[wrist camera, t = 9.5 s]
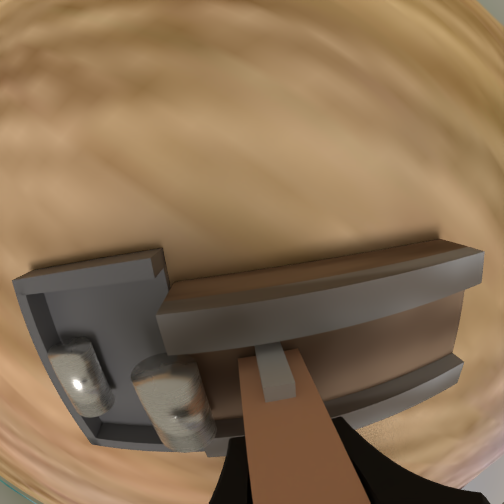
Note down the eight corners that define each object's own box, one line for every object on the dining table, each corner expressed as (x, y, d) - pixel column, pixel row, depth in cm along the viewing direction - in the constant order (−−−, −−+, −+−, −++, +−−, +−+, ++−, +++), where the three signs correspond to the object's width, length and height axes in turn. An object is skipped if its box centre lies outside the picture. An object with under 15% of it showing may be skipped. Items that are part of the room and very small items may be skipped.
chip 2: (229, 428, 12) (183, 462, 10) (191, 404, 14) (149, 430, 12) (211, 367, 11) (152, 402, 9) (171, 345, 13) (120, 370, 11)
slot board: (426, 355, 18) (457, 383, 14) (209, 410, 17) (207, 457, 12) (439, 238, 16) (484, 251, 12) (174, 281, 15) (155, 315, 10)
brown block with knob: (300, 400, 14) (350, 534, 5) (248, 410, 13) (269, 552, 5) (296, 334, 13) (376, 493, 4) (235, 345, 12) (253, 523, 4)
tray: (211, 427, 17) (210, 450, 15) (100, 424, 17) (91, 444, 14) (162, 247, 14) (150, 258, 12) (33, 270, 14) (12, 280, 11)
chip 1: (78, 422, 11) (72, 396, 14) (120, 408, 13) (109, 384, 16) (47, 366, 11) (47, 344, 13) (94, 351, 13) (87, 332, 15)
